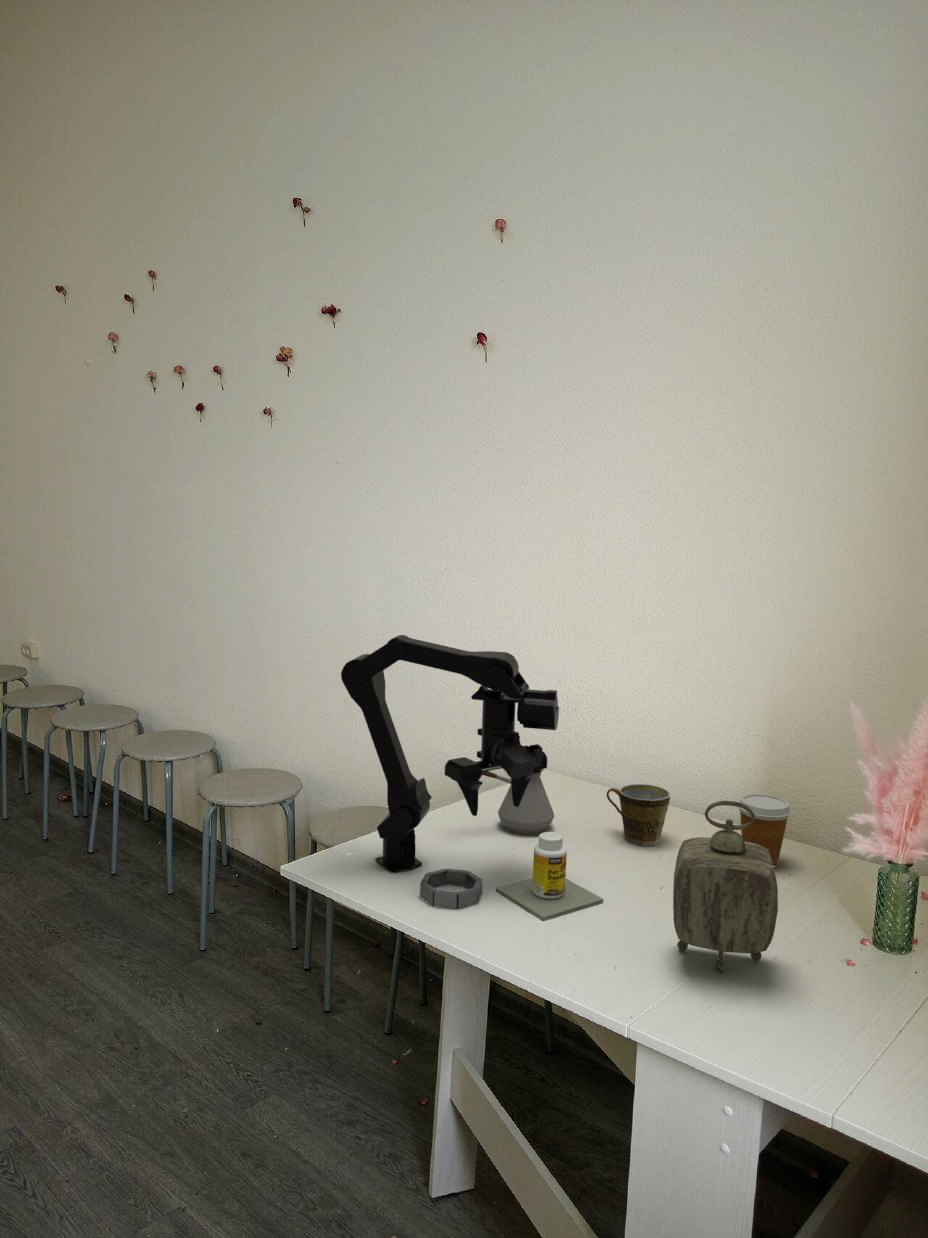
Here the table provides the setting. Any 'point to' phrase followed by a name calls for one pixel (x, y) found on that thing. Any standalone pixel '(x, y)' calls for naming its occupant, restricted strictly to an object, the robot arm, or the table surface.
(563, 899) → the mat
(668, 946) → the table surface
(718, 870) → the tabletop clock
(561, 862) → the supplement bottle
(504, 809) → the grey turkish cezve
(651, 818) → the ceramic cup
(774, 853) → the disposable coffee cup
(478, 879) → the collar
